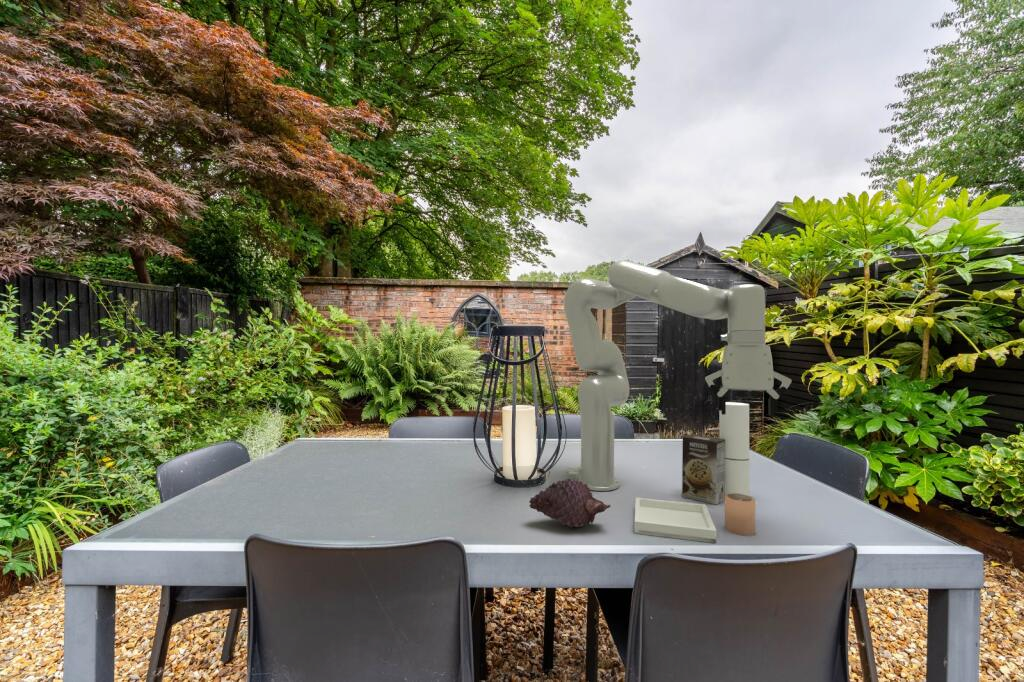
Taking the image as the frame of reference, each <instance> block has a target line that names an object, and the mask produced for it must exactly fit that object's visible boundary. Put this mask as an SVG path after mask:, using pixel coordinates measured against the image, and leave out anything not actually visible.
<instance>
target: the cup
mask: <svg viewBox="0 0 1024 682" xmlns="http://www.w3.org/2000/svg"><path fill="white" fill-rule="evenodd" d="M724 529H725V530H726V531H727V530H728V531H727V532H729V531H730V532H729V533H731V532H732V534H734V533H735V535H738V534H740V536H744V535H751V536H754V535H755V534H756V498H755V497H753V496H750V495H749V496H748V495H744V494H737V493H728V494H725V499H724Z"/></svg>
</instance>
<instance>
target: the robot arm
mask: <svg viewBox="0 0 1024 682" xmlns="http://www.w3.org/2000/svg"><path fill="white" fill-rule="evenodd" d="M765 292H766V291H765V288H764V287H763V286H762V285H760V284H752V283H750V284H749V283H746V284H738V285H733V286H731V287H729V289H722V288H719V287H715V286H710V285H706V284H702V283H699V282H695V281H692V280H689V279H688V280H687V279H684V278H681V277H678V276H675V275H672V274H670V272H669V271H667V270H666V271H665V270H663V269H659V268H655V267H652V266H648V265H644V264H641V263H637V262H634V261H631V260H625V259H624V260H623V259H621V260H618V261H615V262H614V263H612V264H611V265H610V266H609V268H608V269H607V281H604V280H599V279H594V278H589V277H588V278H580V279H577V280H575V281H573V282H572V283H571V284H570V285H569V286H568V288H567V290H566V293H565V296H564V298H563V308H564V309H563V310H564V315H565V318H566V322H567V325H568V328H569V331H570V332H569V333H570V339H571V343H572V348H573V352H574V357H575V361H576V365H577V366H578V368H579V369H580V370H582V371H583V372H597V374H596V375H590V376H587V377H586V378H583V380H581V382H580V383H579V384H578V385H579V386H578V387H577V398H578V405H579V412H580V466H579V467H576V468H574V467H566V468H565V475H568V477H576V478H575V479H574V480H576V481H581V482H582V483H583V484H586V485H587V486H588V488H590V491H595V492H606V491H607V492H609V491H614V490H617V489H618V488H620V485H621V484H620V481H619V479H617V478H616V477H615V422H614V420H615V419H614V416H613V412H612V409H611V407H617V406H620V405H623V404H624V403H625V402H627V400H628V398H629V396H630V382H629V379H628V374H627V370H626V365H625V361H624V358H623V354H622V351H621V349H620V348H619V346H618V345H617V344H616V343H615V342H613V341H610V340H607V339H602V337H601V333H600V329H599V324H598V322H597V320H596V317H595V316H594V314H593V312H592V311H591V310H592V309H597V310H605V311H606V310H611V309H615V308H616V307H618V306H620V305H622V304H624V303H626V302H628V301H631V300H633V299H634V298H636V297H637V298H641V299H644V300H645V301H649V302H652V303H655V304H656V305H660V306H663V307H665V308H669V309H671V310H675V311H677V312H680V313H683V314H686V315H687V316H688V315H689V316H691V317H695V318H700V319H701V318H702V319H707V320H713V321H714V320H715V321H716V320H723V319H727V332H726V333H724V334H720V340H721V341H725V342H727V345H724V348H723V356H722V363H721V369H720V370H718V371H716V372H713V373H711V374H709V375H707V376H705V378H704V381H705V382H706V383H707V385H708V387H709V389H710V390H711V391H713V393H715V394H716V396H717V398H718V399H717V401H718V402H717V407H718V409H717V410H718V411H719V410H721V413H722V415H725V414H726V402H727V401H726V396H725V395H726V393H727V392H728V391H729V390H738V391H739V390H740V391H741V390H742V391H747V390H748V391H765V392H766V393H767V394H768V395H769V397H768V399H767V402H768V407H767V408H768V411H767V413H768V416H769V417H771V418H775V414H778V399H779V398H780V397H781V396H783V395H784V394H785V393H786V392H787V390H788V388H789V387H790V385H791V384H792V379H791V378H789V377H787V376H786V375H783V374H781V373H779V372H777V371H774V366H773V365H774V364H773V356H772V352H771V351H772V350H771V346H770V345H766V294H765ZM719 377H721V384H722V386H721V387H720V388H718V387H717V386H716V385H715V383H714V380H716V379H718V378H719ZM775 379H777V380H778V381H780V382H781V385H780V386H779V387H778V388H777V389H776V390H775V389H774V385H775V384H774V383H775V382H774V380H775Z"/></svg>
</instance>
